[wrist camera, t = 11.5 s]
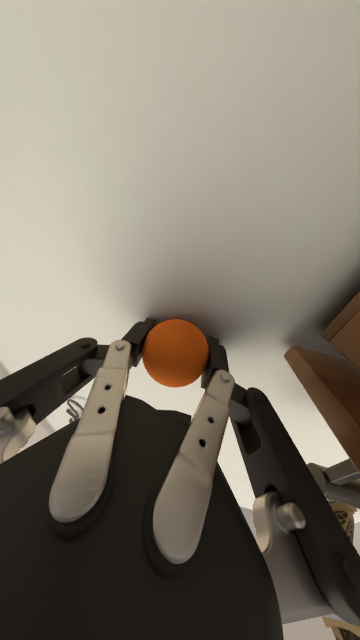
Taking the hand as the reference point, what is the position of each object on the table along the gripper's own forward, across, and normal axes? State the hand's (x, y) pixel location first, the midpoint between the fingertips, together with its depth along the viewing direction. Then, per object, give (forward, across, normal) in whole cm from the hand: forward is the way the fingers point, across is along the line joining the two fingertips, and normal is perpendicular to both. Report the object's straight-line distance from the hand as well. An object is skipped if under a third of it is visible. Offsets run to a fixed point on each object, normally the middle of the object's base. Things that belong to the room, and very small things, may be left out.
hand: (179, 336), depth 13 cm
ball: (-2, 0, 0) cm, 2 cm away
